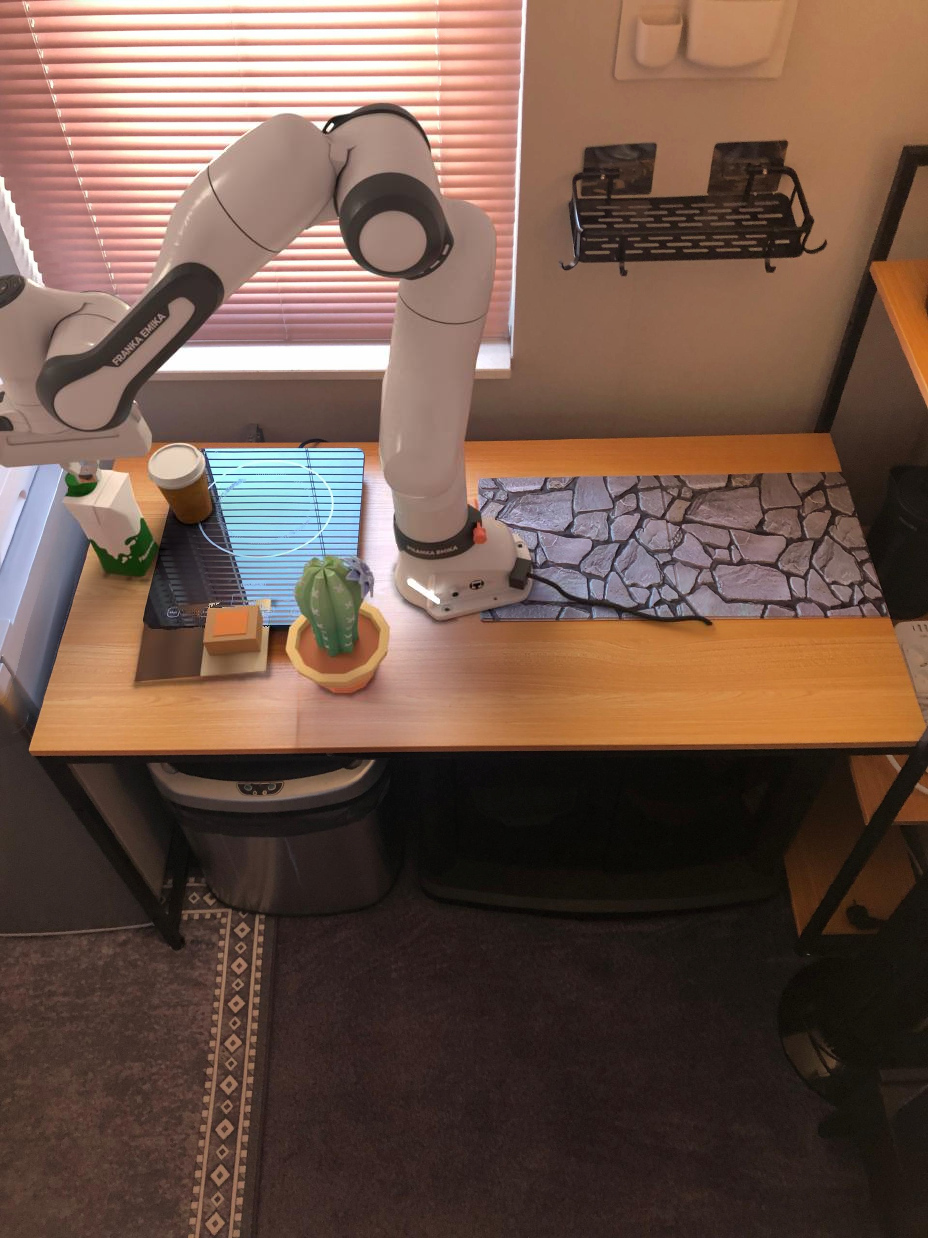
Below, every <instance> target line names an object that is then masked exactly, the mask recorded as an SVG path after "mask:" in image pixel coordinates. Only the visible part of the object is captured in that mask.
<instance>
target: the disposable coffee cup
mask: <svg viewBox="0 0 928 1238" xmlns="http://www.w3.org/2000/svg"><path fill="white" fill-rule="evenodd" d="M147 464H148V465H147V475H148V477H149V479H150V481H151V482H152V483H153V484H155V485H156V487H157V488H158V489H159V491H160V493H161V494H162V496H163V497H164V499H165V500H166V502H167V504H168V505H169V507H170V508H171V510H172V511H173V513H174V514H175V516H176V519H178V520H179V521H180V522H181V523H184V524H190V525H191V524H198V523H200V522H202V521H204V520H205V519H207V518H208V517H209V516H210V515H211V513H212V512H213V505H212V499H211V495H210V489H209V483H208V479H207V474H206V458H205V456H204V454H203V453H202V452H201V451H200V450H199V449H198V447H196V446H194V445H192V444H189V443H185V442H175V443H174V442H173V443H170V444H167V445H163V446H162V447H160V448H159V449H157V450H156V451H155V452H153V454H152V455H151V456H150V458H149V460H148V463H147Z"/></svg>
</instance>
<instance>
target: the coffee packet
mask: <svg viewBox="0 0 928 1238" xmlns="http://www.w3.org/2000/svg"><path fill="white" fill-rule="evenodd" d="M262 628H263V616H262V613H261V610H260V607H259V605H248V606H235V607H222V608H209V607H208V609H207V616H206V623H205V631H204V639H203V643H204V645H205V648H206V650H207V652H208V654H209V655H220V654H233V653H246V652H259V651H261V640H262Z"/></svg>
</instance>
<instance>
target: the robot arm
mask: <svg viewBox="0 0 928 1238" xmlns="http://www.w3.org/2000/svg"><path fill="white" fill-rule="evenodd" d="M332 124H333V126H332V127H331V128H330V130H329V131H328V129H329V127H330V126H331V125H332ZM440 186H441V185H440V182H439V176H438V173H437V169H436V166H435V162H434V159H433V156H432V149H431V143H430V141H429V138H428V136H427V134H426V132H425V130H424V128H423V126H422V125H421V123H420V122H419V121H418V120H417V119H416V117H415V116H414V115H413V114H412V113H411V112H409V111H408V110H407V109H406V108H404V107H402V106H401V105H397V104H394V103H392V102H391V103H390V102H376V103H370V104H367V105H366V104H365V105H364V106H361V107H359V108H356V109H354V110H352V111H351V112H349V113H343V114H338V115H333V116H332V117H330V118H329V119H328V120H327V121H326V123H325V124H324V126H323V128H322V130H321V129H320V128H319V127H318V126H317V125H316V124H315V123H313V122H312V121H311V120H309V119H308V118H306V117H304V116H301V115H299V114H296V113H291V112H283V113H279V114H276V115H274V116H271V117H270V118H267V119H266V120H265V121H262V122H261V123H260V124H258V125H256V126H255V127H253V128H252V129H250V130H248V131H247V132H246V133H244V134H243V135H241V136H240V137H238V138H237V139H235V140H234V141H233V142H232V143H230V144H229V145H228V146H227V147H226V148H224V149H223V150H222V151H220V152H219V154H218V155H216V156H215V157H214V158H213V159H212V160H211V161H210V162H208V164H207V165H205V167H203V168H202V170H200V171H199V173H197V174H196V176H194V178H193V179H192V180H191V182H190V183H189V184H188V186H187V187H186V189H185V190H184V191H183V193H182V194H181V195H180V197H179V199H178V200H177V202H176V204H175V205H174V207H173V208H172V211H171V213H170V216H169V218H168V219H169V220H168V223H167V225H166V229H165V234H164V236H163V240H162V244H161V248H160V251H159V254H158V257H157V260H156V263H155V266H154V269H153V271H152V273H151V276H150V277H149V280H148V282H147V283H146V286H145V288H144V289H143V291H142V292H141V294H140V296H139V297H138V298H137V300H136V301H134V303H132V305H130V304H129V303H127V302H126V301H125V300H123V299H122V298H121V297H119V296H116V295H115V294H112V293H110V292H106V291H101V290H85V291H79V292H77V291H69V290H63V289H57V288H52V287H49V286H45V285H42V284H40V283H37V282H36V281H34V280H33V279H31V278H29V277H27V276H25V275H22V274H11V273H10V274H5V275H1V276H0V380H1V382H2V383H1V384H0V466H2V467H4V468H6V469H9V468H10V469H11V468H23V467H34V466H46V465H47V466H48V465H59V467H60V468H61V469H62V470H64V471H65V472H67V473H68V472H69V473H70V474H72V475H74V476H75V478H76V479H77V481H78V483H89V482H100V481H101V477H102V473H101V470H102V469H101V468H100V466H99V465H100V461H110V460H121V459H123V460H124V459H134V458H137V459H138V458H145V457H147V455H148V454H149V452H150V451H151V448H152V443H153V434H152V432H151V430H150V428H149V426H148V424H147V422H146V420H145V419H144V417H143V414H142V410H141V408H140V406H139V404H138V402H137V401H136V400H135V399H136V396H137V394H138V392H139V391H140V389H141V388H142V387H143V386H144V385H145V384H146V383H147V382H148V381H149V380H150V379H151V377H153V376H154V374H156V373H157V372H158V371H159V370H160V369H161V368H162V367H163V366H164V365H165V364H166V363H167V362H168V361H169V360H170V359H171V358H172V357H173V356H174V355H175V354H176V353H177V352H178V351H179V350H180V349H181V348H182V347H183V346H185V344H186V343H187V342H188V341H189V340H190V339H191V338H192V337H193V336H194V335H195V334H196V333H197V332H198V331H199V330H200V329H201V327H202V326H203V325H204V324H205V323H206V322H207V321H208V320H209V318H210V317H211V316H212V315H214V314H215V312H216V311H218V310H219V309H220V308H221V307H222V306H223V305H224V304H225V303H226V302H227V301H228V300H229V299H230V298H231V297H232V296H233V295H234V294H235V293H236V292H237V291H239V289H240V288H241V287H242V286H244V285H245V284H246V283H247V282H248V281H249V280H251V279H252V278H253V277H254V276H255V275H256V274H257V273H258V272H259V271H261V270H262V269H263V268H265V266H266V265H268V264H269V263H270V262H271V261H272V260H274V259H275V258H276V257H277V256H278V255H280V254H281V253H282V252H283V251H284V250H285V249H286V248H288V247H289V246H290V245H291V244H292V243H293V242H294V241H295V240H296V239H297V238H298V237H299V236H301V235H302V234H303V233H304V231H307V230H309V229H311V228H313V227H315V226H317V225H321V224H324V223H328V222H334V221H335V222H337V221H338V226H339V231H340V235H341V238H342V241H343V243H344V245H345V248H346V250H347V251H348V253H349V255H350V257H351V258H352V259H353V261H355V262H354V263H356V264H357V265H359V267H361V268H362V269H363V270H365V271H366V272H369V273H370V274H373V275H376V276H378V277H379V276H380V277H383V278H388V279H398V280H399V282H398V288H397V295H396V303H395V310H394V315H393V316H394V317H393V324H392V331H391V337H390V344H389V354H388V355H389V356H388V364H387V366H386V369H385V372H384V375H383V378H382V383H381V384H382V386H381V399H380V401H381V402H380V415H379V433H378V435H379V436H378V454H379V459H380V465H381V469H382V473H383V477H384V480H385V482H386V484H387V486H389V488H390V492H391V497H392V505H393V519H392V528H393V535H394V541H395V544H396V547H397V550H398V551H397V552H398V554H397V562H396V566H395V570H394V583H395V586H396V588H397V590H398V592H399V594H400V595H401V596H402V597H403V598H404V599H405V600H406V601H408V602H409V603H410V604H413V605H414V606H417V607H419V608H421V609H423V610H425V611H426V612H427V613H428V615H430V616H431V617H432V618H433V619H435V621H445V620H450V619H454V618H458V617H462V616H466V615H471V614H475V613H479V612H483V611H488V610H491V609H495V608H496V609H497V608H500V607H503V606H508V605H512V604H516V603H520V602H521V603H522V602H524V601H525V600H527V598H528V596H529V595H530V593H531V590H532V587H533V581H537V582H540V583H542V584H545V585H548V586H550V587H552V588H553V589H555V590H556V591H557V592H558V593H559V594H560V595H561V596H562V597H563V598H565V599H568V600H570V601H573V602H576V603H581V604H584V605H590V606H597V607H602V608H603V607H604V608H609V609H613V610H617V611H621V612H624V613H627V614H630V615H633V616H636V617H638V618H642V619H646V620H648V621H654V622H659V623H680V622H688V621H698V622H701V623H703V624H705V625H706V626H713V622H712V621H711V620H710V619H709V618H707V617H705V616H701V615H696V614H691V615H680V616H679V615H678V616H658V615H652V614H649V613H645V612H642V611H639V610H636V609H633V608H630V607H627V606H624V605H620V604H618V603H617V604H616V603H614V602H613V603H612V602H609V601H602V600H596V599H589V598H588V599H587V598H583V597H579V596H576V595H573V594H571V593H568V592H567V591H565V590H564V589H563V588H562V587H561V586H560V585H559V584H558V583H556V582H554V581H553V580H550V579H548V578H545V577H543V576H540V575H537V574H536V573H535V574H534V570H533V569H534V567H533V560H532V558H531V553H530V550H529V547H528V546H527V544H526V542H525V540H524V539H523V538H521V536H520V535H518V534H517V533H514V532H513V533H512V531H511V529H510V528H509V526H508V525H507V524H505V523H504V522H502V521H500V520H498V519H497V520H496V519H494V518H492V517H491V518H490V517H487V516H484V515H482V512H481V511H480V509H479V508H480V507H479V503H478V500H477V498H474V506H473V505H471V504H470V503H469V502H468V491H467V489H468V488H467V474H466V473H467V472H466V450H465V440H466V434H467V428H468V422H469V418H470V410H471V405H472V404H471V403H472V397H473V391H474V383H475V378H476V377H475V375H476V369H477V362H478V358H479V357H478V356H479V353H480V348H481V344H482V340H483V334H484V330H485V326H486V322H487V318H488V314H489V310H490V305H491V301H492V296H493V290H494V283H495V275H496V265H497V231H496V227H495V224H494V223H493V220H492V219H491V217H490V216H489V215H488V214H487V212H485V211H484V210H483V209H482V208H481V207H479V206H478V205H476V204H474V203H471V202H470V201H467V200H463V199H458V198H449V197H447V196H445V195H444V194H443V193H442V192H441V187H440ZM80 463H87V465H82V464H80ZM100 469H101V470H100Z"/></svg>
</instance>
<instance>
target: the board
mask: <svg viewBox="0 0 928 1238" xmlns="http://www.w3.org/2000/svg"><path fill="white" fill-rule="evenodd" d="M248 600H249V602H248V603H250V600H251V599H248ZM253 600H254V601H253V602H257V603H256V605H260V606H259V607H260V610H261V605H262V607H263V609H262V610H266V609H267V610H269V611H268V612H270V613H269V615H270V616H271V605H272V598H270V597H269V598H259V600H258V599H253ZM255 600H256V601H255ZM251 602H252V601H251ZM215 603H216V605H217V604H219V603H220V602H209V603H197V604H185V605H184V604H183V605H173V606H172V605H171V606H170V607H173V609H174V607H175V609H179V611H180V609H181V611H182V609H183V614H184V611H186V612H185V614H186V613H187V614H188V615H187V616H191V615H197V616H196V617H199V619H200V617H201V616H202V614H204V613H205V611H204V610H205V607H206V609H207V607H208V606H209V607H208V609H209V608H210V605H211V607H212V606H213V604H214V605H215ZM246 603H247V602H246ZM258 603H259V604H258ZM243 604H244V603H243ZM251 605H252V604H251ZM254 605H255V603H254ZM176 607H177V608H176ZM178 607H179V608H178ZM264 607H266V608H265V609H264ZM267 607H268V608H267ZM171 609H172V608H171ZM184 609H185V610H184ZM191 610H192V611H191ZM175 611H176V610H175ZM177 611H178V610H177ZM198 611H199V612H198ZM203 611H204V613H203ZM191 612H192V614H191ZM193 612H194V614H193ZM195 612H196V614H195ZM189 613H190V615H189ZM263 613H264V611H263ZM179 614H180V613H179ZM181 614H182V613H181ZM198 614H199V615H198ZM200 614H201V615H200ZM185 616H186V615H185ZM204 616H205V615H204ZM181 617H182V616H181ZM183 617H184V616H183ZM263 617H264V615H263ZM265 617H266V616H265ZM192 618H193V616H192ZM192 618H191V617H190V619H192ZM194 618H195V616H194ZM201 619H202V617H201ZM199 622H200V621H199ZM204 631H205V628H204V627H203V628H202V626H201V627H200V626H199V627H194V628H180V629H179V628H178V629H176V630H175V629H174V630H173V629H172V630H166V629H165V630H164V629H151V628H149V627H148V625H147V624H146V622H145V621H144V624H143V630H142V636H141V640H140V641H141V642H140V646H139V647H140V648H139V654H138V659H137V665H136V671H135V677H134V682H144V681H157V680H159V681H160V680H168V679H169V680H170V679H182V678H195V677H207V676H221V675H231V674H232V675H233V674H243V673H257V672H266V671H267V663H268V662H267V661H268V649H269V648H268V647H269V635H270V625H269V626H268V627H267V626H265V627H264V626H263V628H262V640H261V651H259V652H246V653H233V654H220V655H209V654H208V652H207V650H206V648H205V645H204V643H203V639H204Z"/></svg>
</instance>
